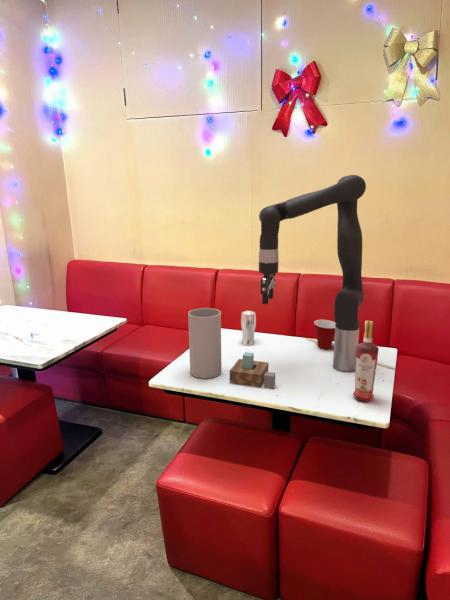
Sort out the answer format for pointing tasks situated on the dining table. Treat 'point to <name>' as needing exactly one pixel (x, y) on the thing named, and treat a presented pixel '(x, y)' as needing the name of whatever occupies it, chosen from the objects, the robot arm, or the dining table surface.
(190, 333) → the cylinder vase
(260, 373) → the socket block
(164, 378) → the dining table surface
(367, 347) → the liquor
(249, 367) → the long pin
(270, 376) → the short pin
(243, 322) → the beer glass
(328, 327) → the plastic cup
